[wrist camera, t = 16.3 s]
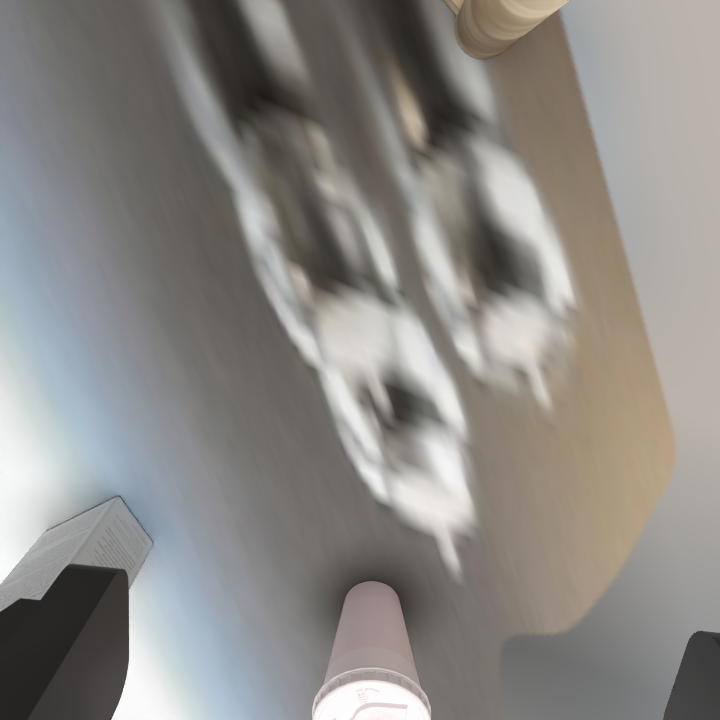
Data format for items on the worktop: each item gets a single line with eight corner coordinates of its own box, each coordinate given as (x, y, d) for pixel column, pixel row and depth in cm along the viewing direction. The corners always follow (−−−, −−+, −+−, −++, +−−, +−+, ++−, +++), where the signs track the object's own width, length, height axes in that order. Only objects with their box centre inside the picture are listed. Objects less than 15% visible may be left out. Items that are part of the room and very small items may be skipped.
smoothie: (439, 610, 43) (469, 818, 29) (365, 658, 44) (361, 878, 31) (378, 546, 41) (381, 734, 28) (304, 598, 43) (272, 801, 29)
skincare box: (82, 579, 43) (-24, 736, 31) (44, 530, 41) (-81, 674, 30) (158, 544, 42) (77, 692, 30) (121, 492, 40) (22, 626, 29)
